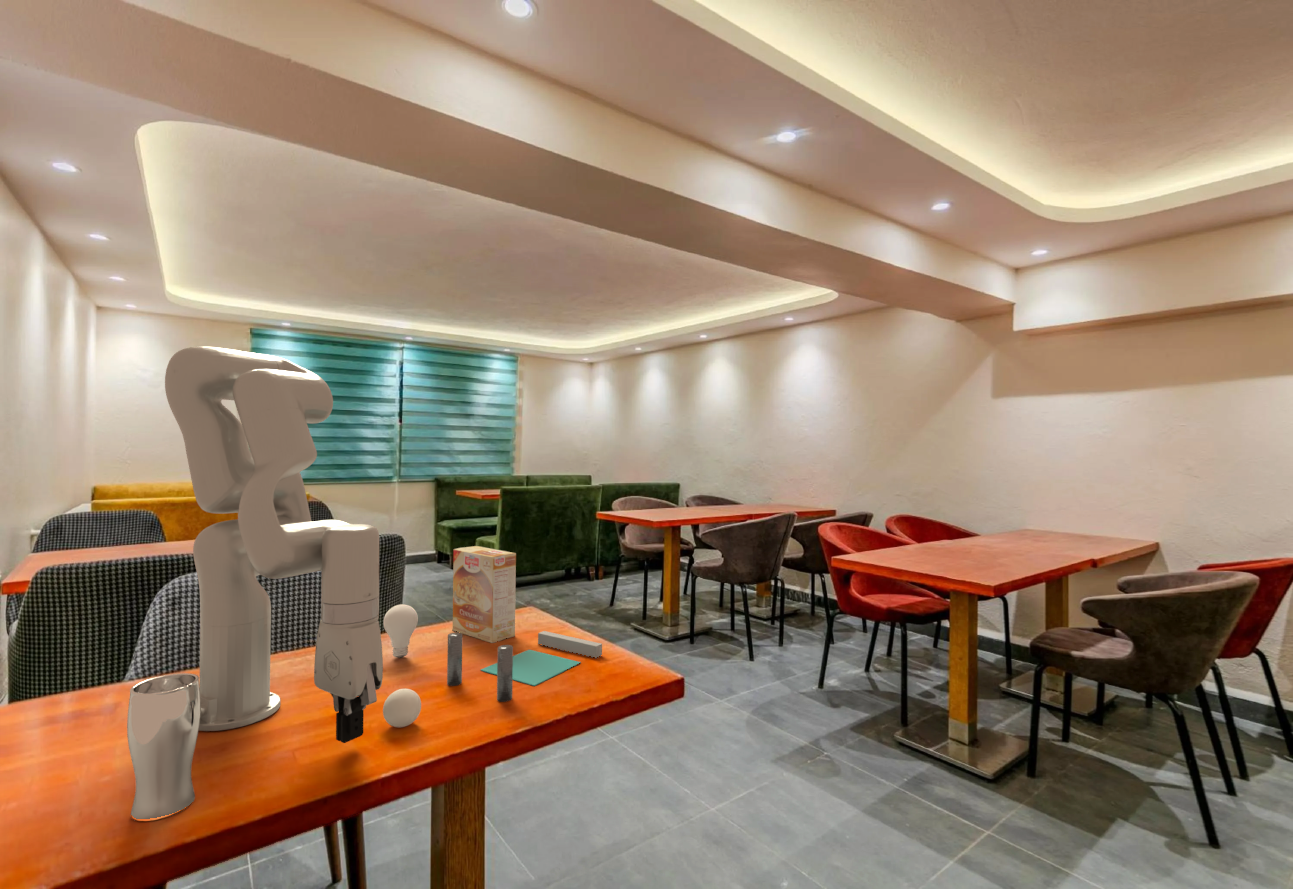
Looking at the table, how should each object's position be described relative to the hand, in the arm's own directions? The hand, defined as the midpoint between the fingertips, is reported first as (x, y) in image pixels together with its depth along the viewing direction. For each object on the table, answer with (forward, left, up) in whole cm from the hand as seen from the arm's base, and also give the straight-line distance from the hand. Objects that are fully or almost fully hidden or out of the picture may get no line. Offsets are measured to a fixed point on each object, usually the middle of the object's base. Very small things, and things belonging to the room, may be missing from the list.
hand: (349, 737), depth 87 cm
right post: (+25, -6, -2) cm, 26 cm away
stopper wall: (+51, 0, -2) cm, 51 cm away
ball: (+9, 0, +1) cm, 9 cm away
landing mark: (+39, 0, -2) cm, 39 cm away
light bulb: (+28, +26, -2) cm, 38 cm away
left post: (+25, +7, -2) cm, 26 cm away
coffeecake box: (+49, +24, -2) cm, 55 cm away
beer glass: (-20, +6, -2) cm, 21 cm away
